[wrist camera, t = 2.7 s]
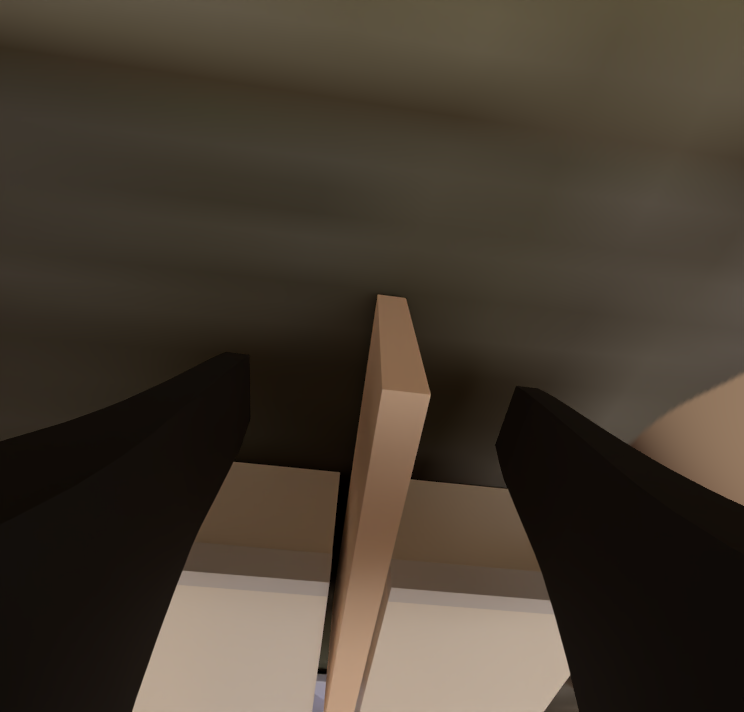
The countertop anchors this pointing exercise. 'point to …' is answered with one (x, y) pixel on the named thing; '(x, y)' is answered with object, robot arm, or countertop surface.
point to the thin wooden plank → (375, 493)
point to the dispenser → (395, 616)
